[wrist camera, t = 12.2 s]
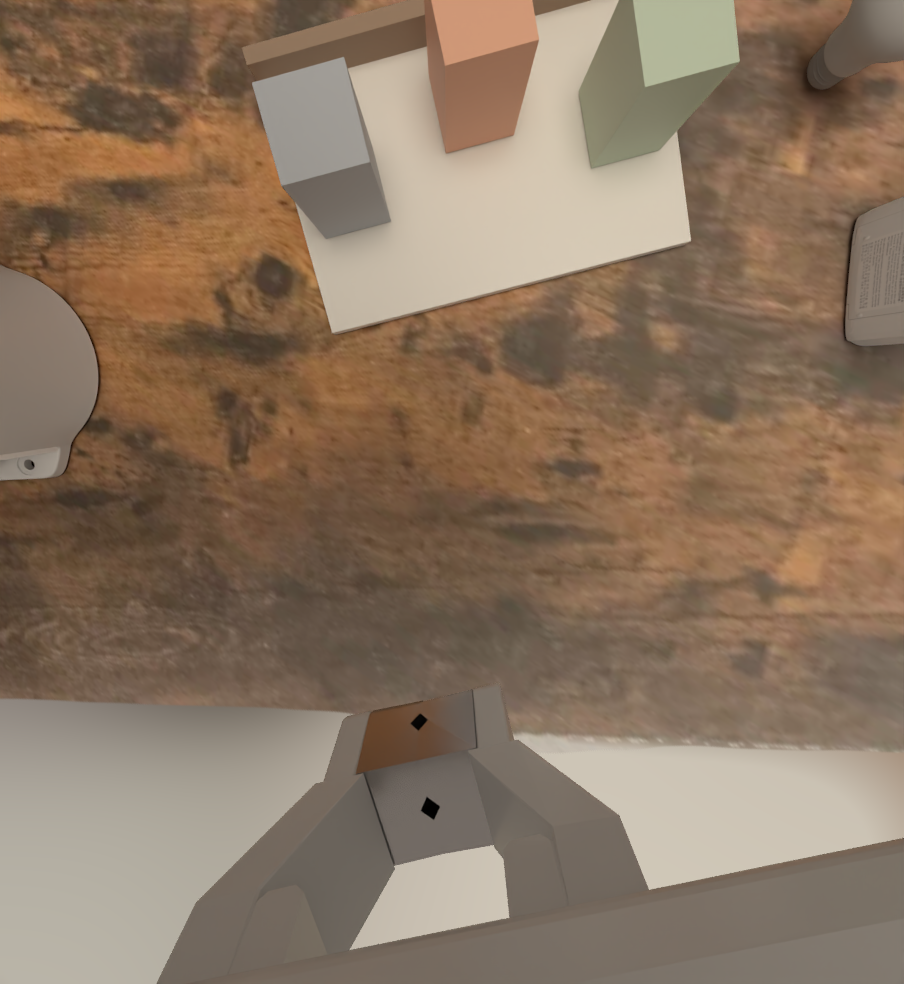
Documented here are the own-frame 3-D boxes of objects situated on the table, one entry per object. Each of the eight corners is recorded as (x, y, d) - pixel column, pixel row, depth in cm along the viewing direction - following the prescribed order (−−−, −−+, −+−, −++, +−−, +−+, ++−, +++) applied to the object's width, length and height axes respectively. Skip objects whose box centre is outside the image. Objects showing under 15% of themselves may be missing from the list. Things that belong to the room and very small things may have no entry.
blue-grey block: (325, 238, 37) (281, 185, 27) (305, 165, 36) (251, 82, 26) (390, 221, 36) (370, 161, 27) (372, 147, 35) (343, 56, 26)
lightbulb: (863, 109, 36) (1037, -7, 26) (780, 135, 37) (918, 32, 26) (853, 14, 35) (1033, -149, 24) (768, 42, 35) (908, -107, 25)
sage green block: (591, 168, 36) (644, 87, 26) (578, 91, 35) (629, -24, 25) (659, 150, 36) (739, 61, 26) (648, 71, 34) (728, -52, 25)
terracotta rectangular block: (445, 153, 35) (445, 65, 26) (428, 75, 34) (420, -48, 25) (513, 135, 35) (539, 39, 25) (498, 55, 34) (518, -76, 24)
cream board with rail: (335, 334, 39) (322, 328, 35) (259, 65, 35) (235, 24, 31) (683, 245, 38) (712, 228, 34) (645, -44, 34) (672, -102, 30)
